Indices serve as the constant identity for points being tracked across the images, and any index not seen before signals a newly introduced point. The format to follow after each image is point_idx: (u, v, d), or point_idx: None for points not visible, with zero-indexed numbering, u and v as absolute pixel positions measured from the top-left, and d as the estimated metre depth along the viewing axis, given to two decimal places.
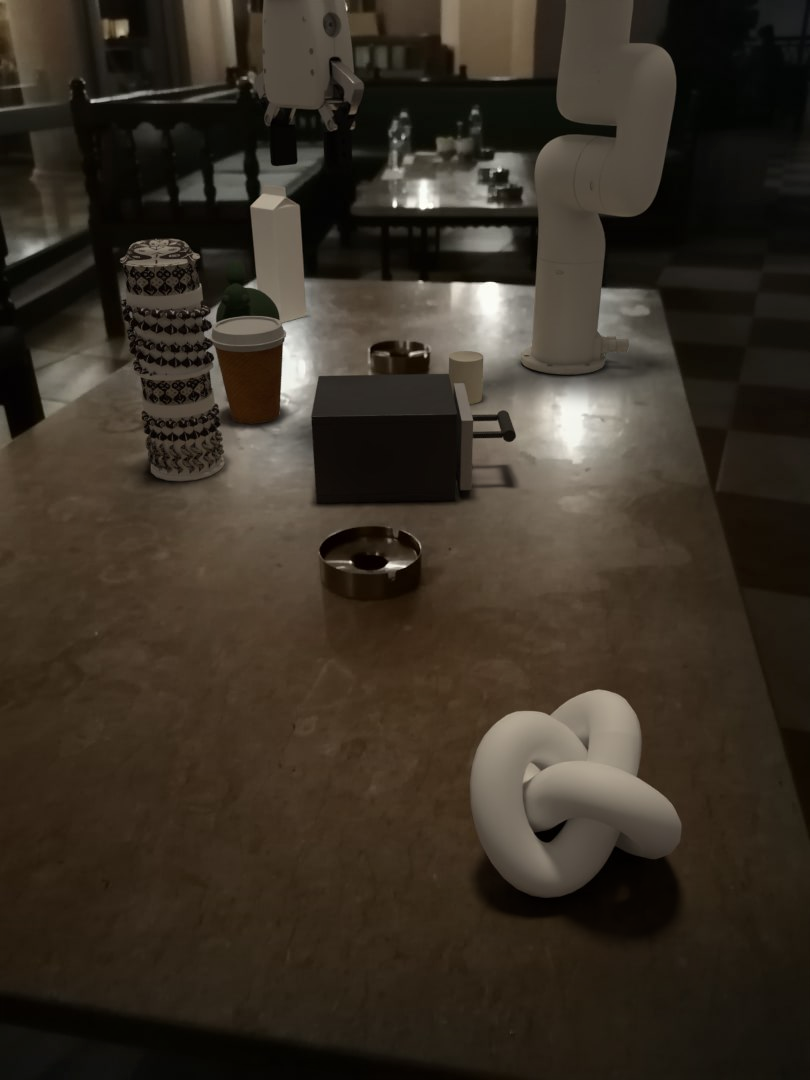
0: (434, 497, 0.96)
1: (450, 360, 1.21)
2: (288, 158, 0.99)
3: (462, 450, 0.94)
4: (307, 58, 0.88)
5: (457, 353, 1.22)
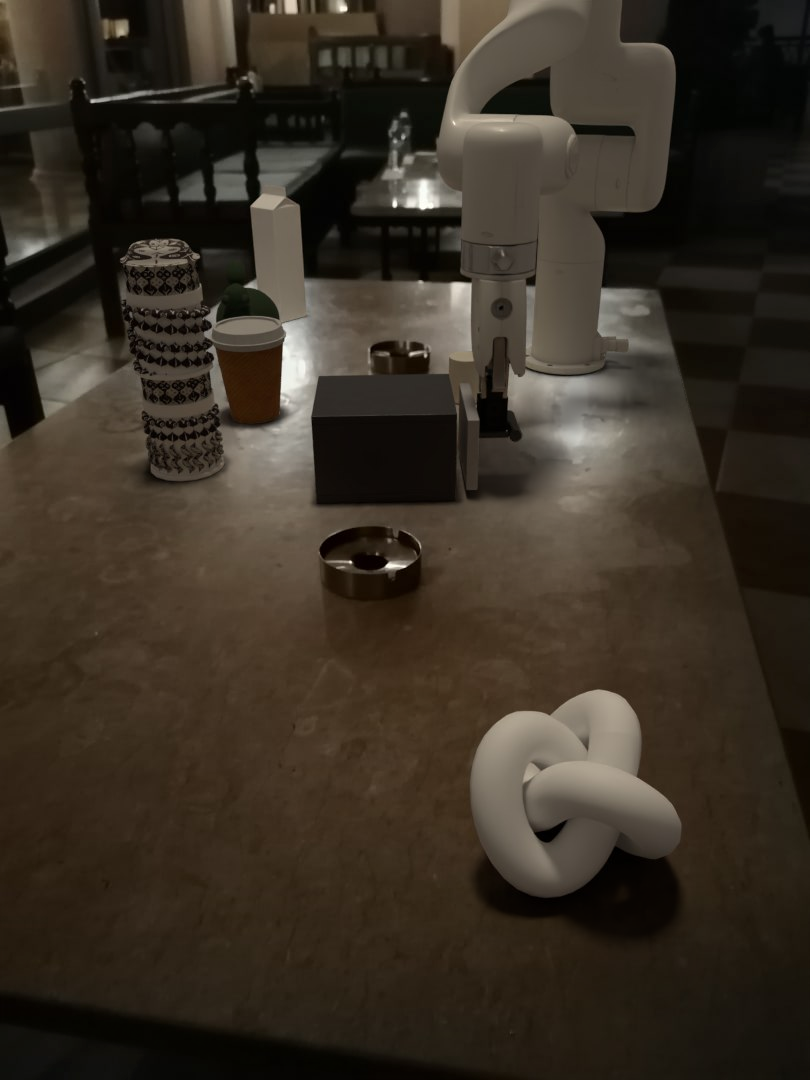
0: (434, 497, 0.96)
1: (450, 360, 1.21)
2: None
3: (468, 450, 0.94)
4: (477, 334, 0.90)
5: (457, 353, 1.22)
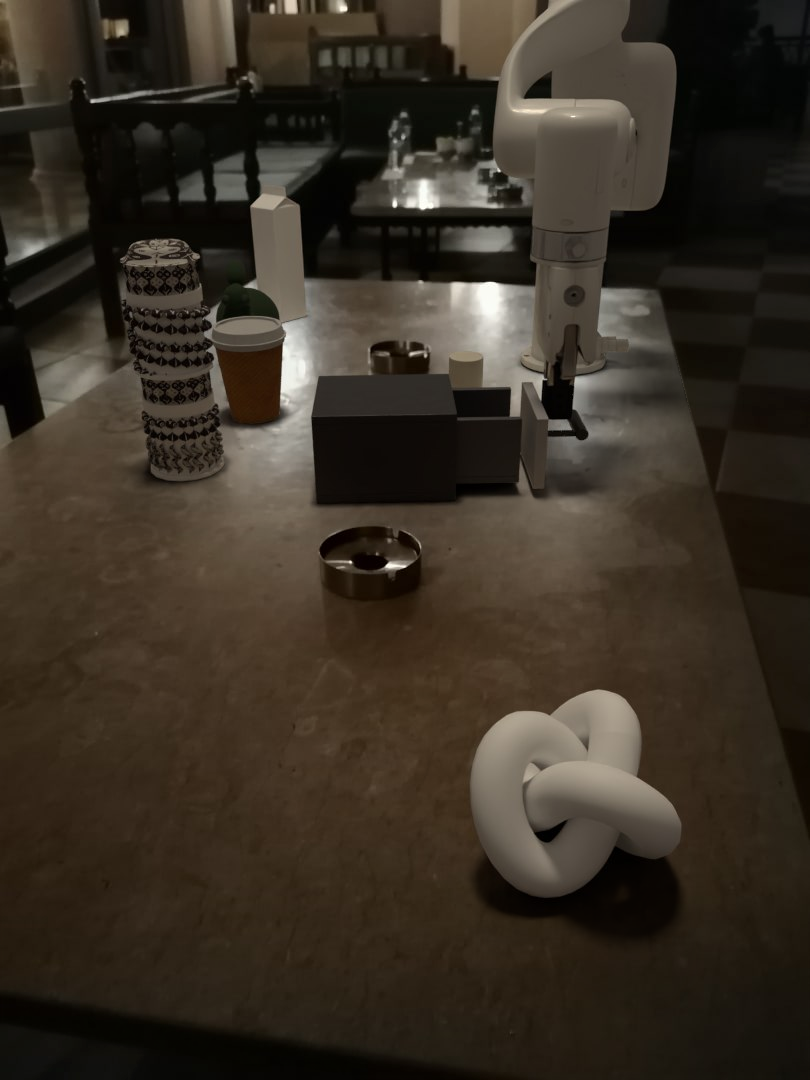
0: (434, 497, 0.96)
1: (450, 360, 1.21)
2: None
3: (536, 449, 0.94)
4: (547, 322, 0.90)
5: (457, 353, 1.22)
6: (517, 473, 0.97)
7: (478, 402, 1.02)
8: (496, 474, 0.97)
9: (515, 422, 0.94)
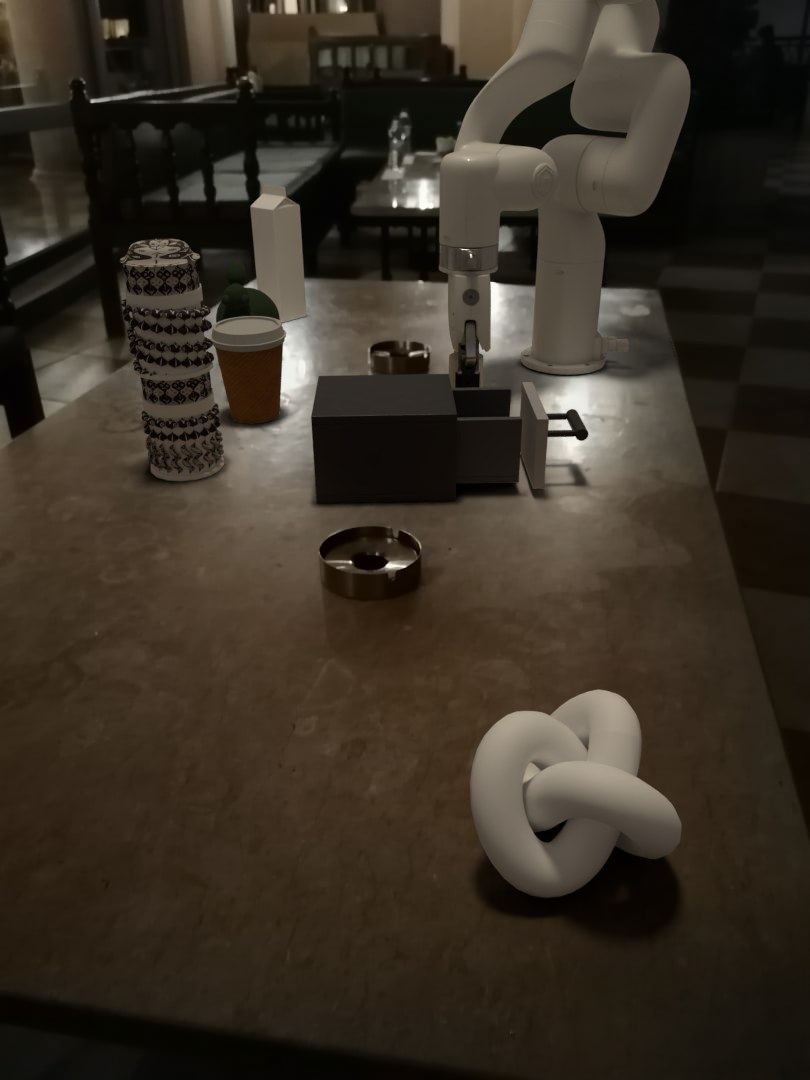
0: (434, 497, 0.96)
1: (450, 360, 1.21)
2: None
3: (536, 449, 0.94)
4: (452, 318, 1.15)
5: (457, 353, 1.22)
6: (517, 473, 0.97)
7: (478, 402, 1.02)
8: (496, 474, 0.97)
9: (515, 422, 0.94)
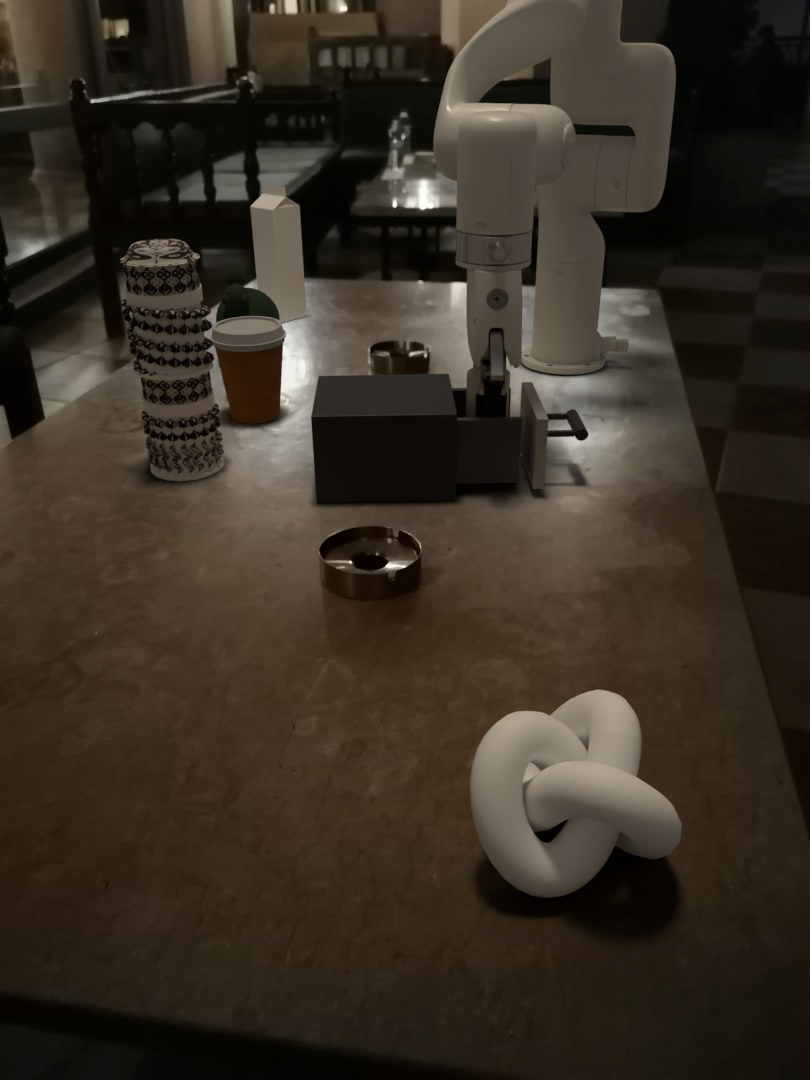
0: (434, 497, 0.96)
1: (468, 378, 0.96)
2: None
3: (536, 449, 0.94)
4: (472, 325, 0.90)
5: (477, 369, 0.97)
6: (517, 473, 0.97)
7: None
8: (496, 474, 0.97)
9: (515, 422, 0.94)
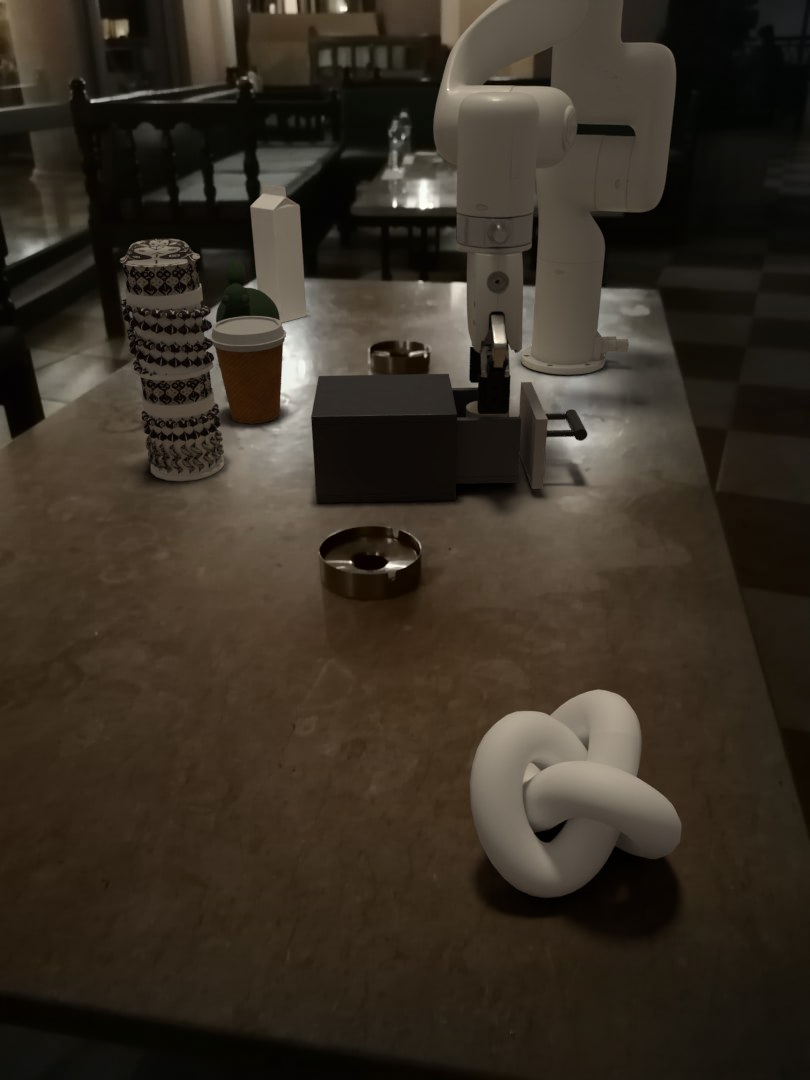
0: (434, 497, 0.96)
1: (467, 412, 0.98)
2: None
3: (535, 449, 0.94)
4: (473, 309, 0.89)
5: (476, 403, 0.99)
6: (516, 473, 0.97)
7: None
8: (495, 474, 0.97)
9: (514, 422, 0.94)
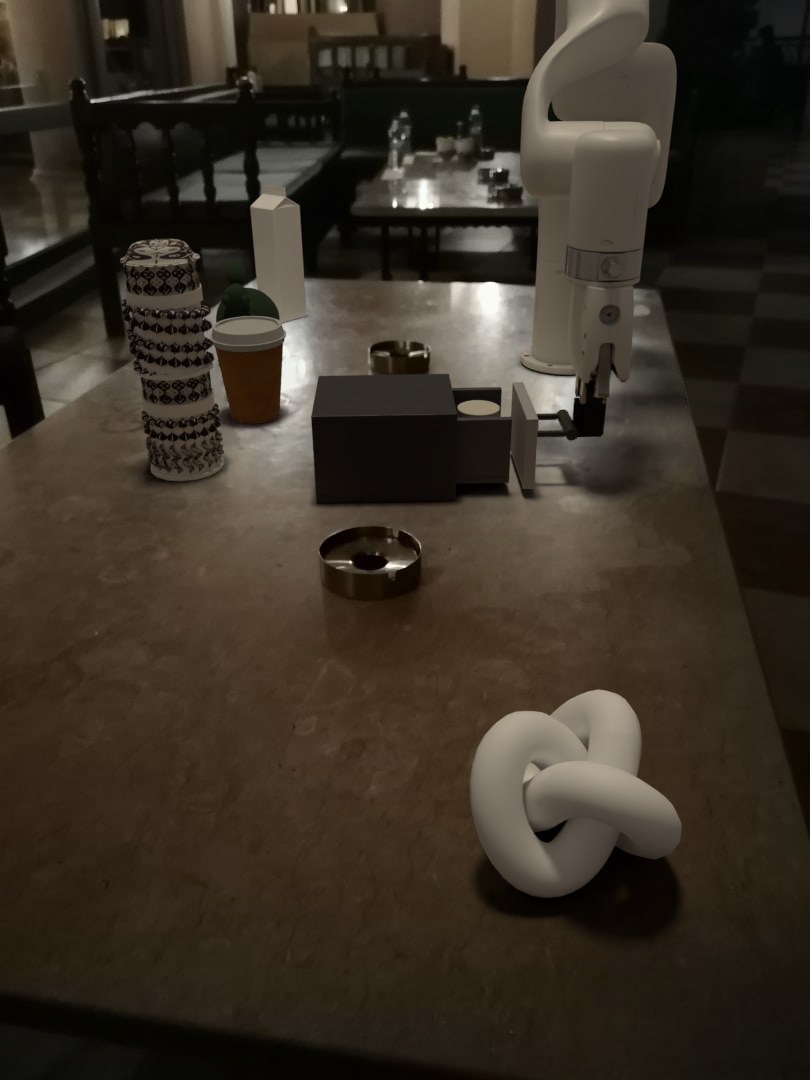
0: (434, 497, 0.96)
1: (459, 413, 0.98)
2: None
3: (526, 449, 0.94)
4: (582, 340, 0.91)
5: (467, 403, 0.99)
6: (507, 473, 0.97)
7: None
8: (486, 474, 0.97)
9: (505, 422, 0.94)
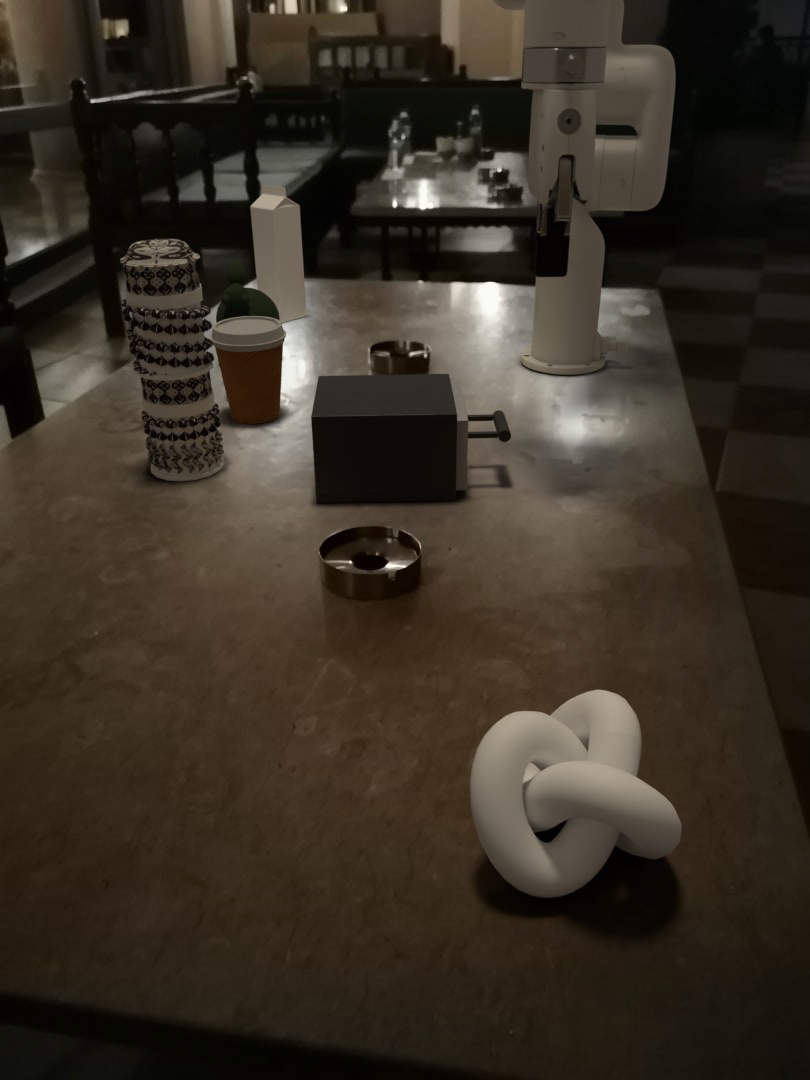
0: (434, 497, 0.96)
1: None
2: None
3: (457, 450, 0.94)
4: (540, 155, 0.83)
5: None
6: None
7: None
8: None
9: None
